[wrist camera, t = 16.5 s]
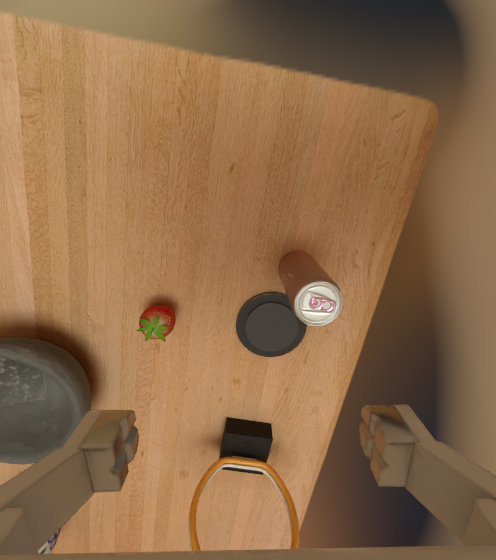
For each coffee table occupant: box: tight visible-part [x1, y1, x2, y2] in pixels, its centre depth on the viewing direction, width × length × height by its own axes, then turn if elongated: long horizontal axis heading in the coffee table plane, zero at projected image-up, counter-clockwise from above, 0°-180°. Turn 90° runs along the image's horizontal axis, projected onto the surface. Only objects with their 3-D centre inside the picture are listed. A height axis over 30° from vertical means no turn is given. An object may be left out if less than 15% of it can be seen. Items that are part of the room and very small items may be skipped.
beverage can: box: [279, 251, 343, 326], centre depth 40 cm, size 6×6×15 cm
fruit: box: [136, 305, 175, 342], centre depth 46 cm, size 5×5×8 cm
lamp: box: [188, 418, 299, 551], centre depth 43 cm, size 17×9×32 cm, turn 79°
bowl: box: [0, 337, 91, 464], centre depth 48 cm, size 23×22×10 cm
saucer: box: [236, 292, 307, 357], centre depth 50 cm, size 12×12×1 cm
